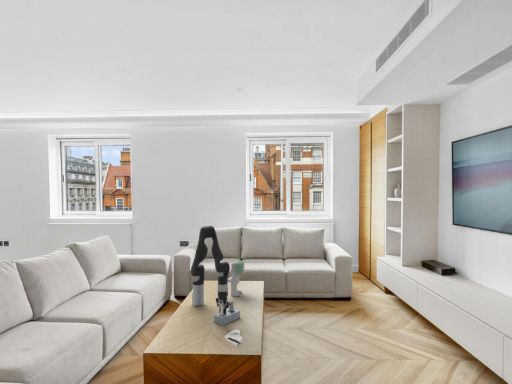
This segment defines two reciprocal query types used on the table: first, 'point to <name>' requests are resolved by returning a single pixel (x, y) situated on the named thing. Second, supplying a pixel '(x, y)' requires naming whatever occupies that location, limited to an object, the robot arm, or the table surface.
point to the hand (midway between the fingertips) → (222, 313)
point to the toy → (236, 276)
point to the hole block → (226, 317)
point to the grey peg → (231, 306)
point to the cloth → (234, 337)
